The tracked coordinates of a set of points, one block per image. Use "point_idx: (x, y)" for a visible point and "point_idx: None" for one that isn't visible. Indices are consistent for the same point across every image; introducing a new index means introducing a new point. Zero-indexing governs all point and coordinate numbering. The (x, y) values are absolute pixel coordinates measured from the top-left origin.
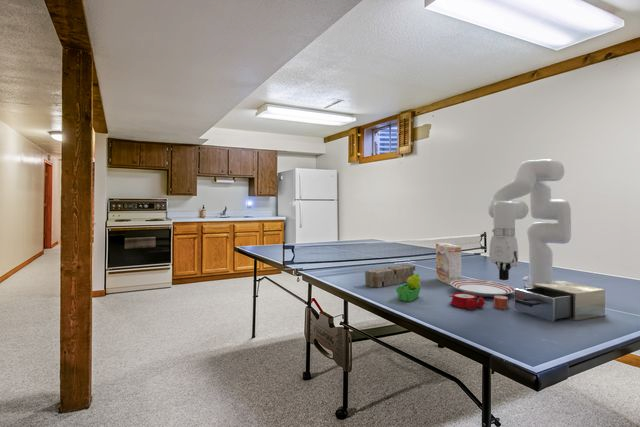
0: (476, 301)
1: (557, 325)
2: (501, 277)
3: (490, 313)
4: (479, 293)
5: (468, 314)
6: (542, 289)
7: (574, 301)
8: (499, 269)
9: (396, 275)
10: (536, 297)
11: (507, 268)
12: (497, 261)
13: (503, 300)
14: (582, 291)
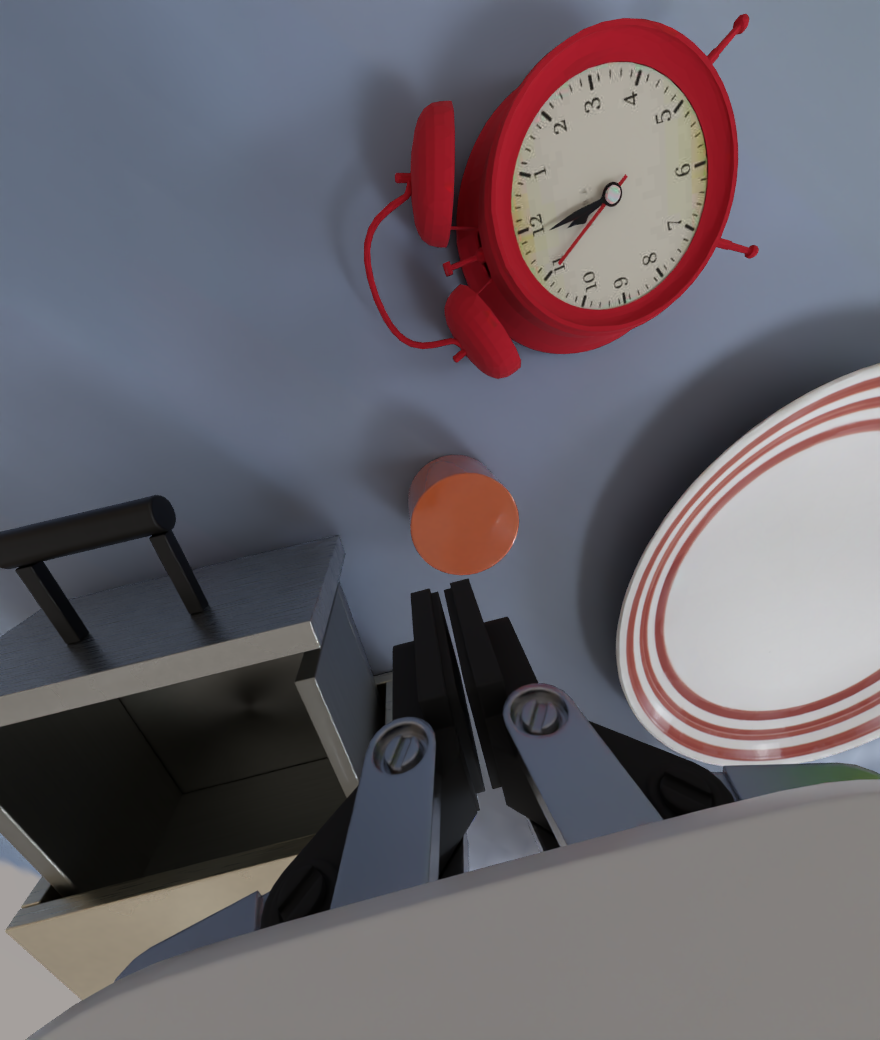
0: (509, 305)
1: (37, 605)
2: (430, 604)
3: (312, 320)
4: (700, 478)
5: (296, 67)
6: None
7: None
8: (501, 683)
9: None
10: (69, 664)
11: (348, 802)
12: (571, 846)
13: (410, 511)
14: (95, 987)
